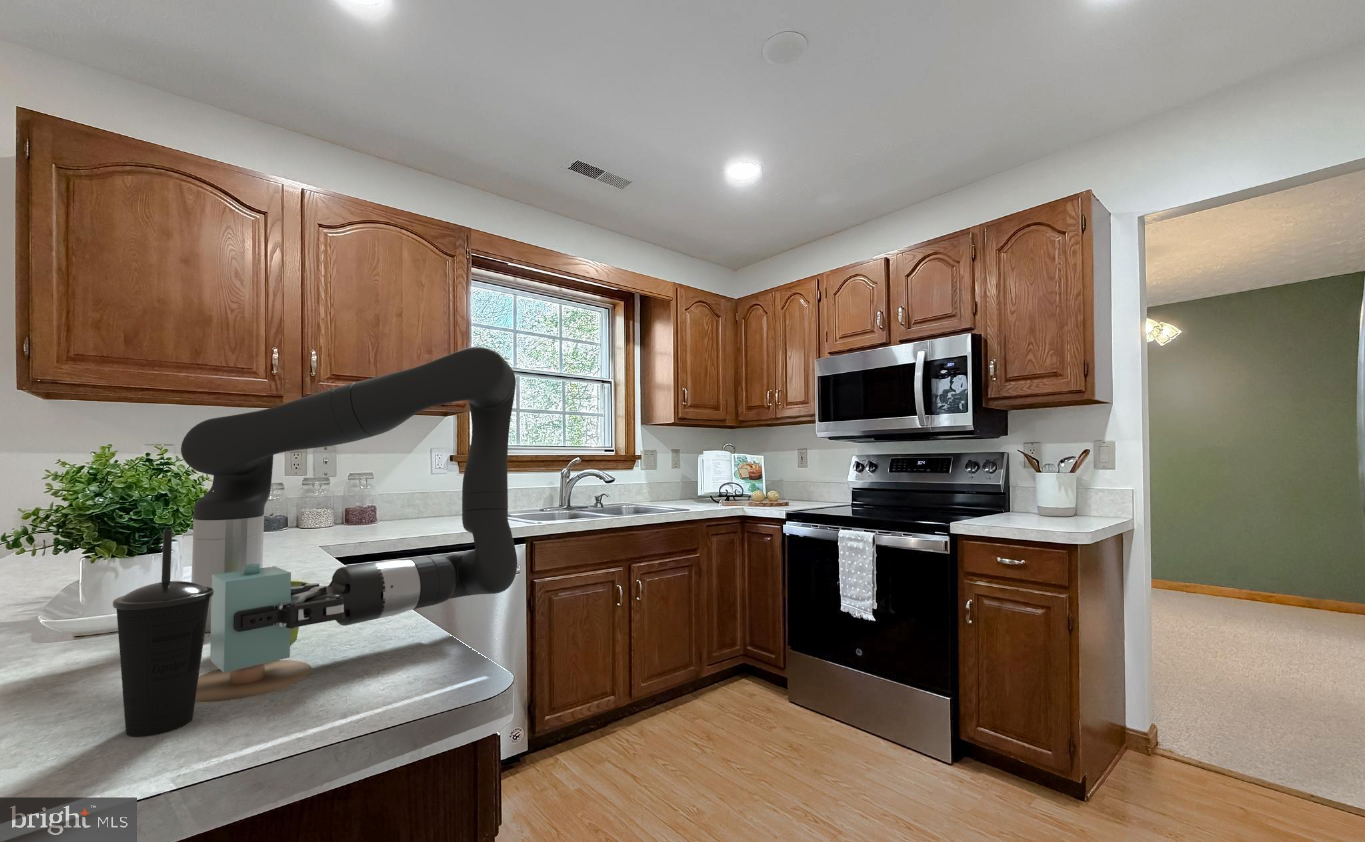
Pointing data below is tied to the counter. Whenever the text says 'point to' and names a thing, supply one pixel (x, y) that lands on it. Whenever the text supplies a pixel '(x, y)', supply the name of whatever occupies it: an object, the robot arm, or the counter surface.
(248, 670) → the ramekin
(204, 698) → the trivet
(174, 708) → the drinking cup
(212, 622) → the teal flask block
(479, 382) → the robot arm
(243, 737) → the counter surface
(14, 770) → the counter surface
